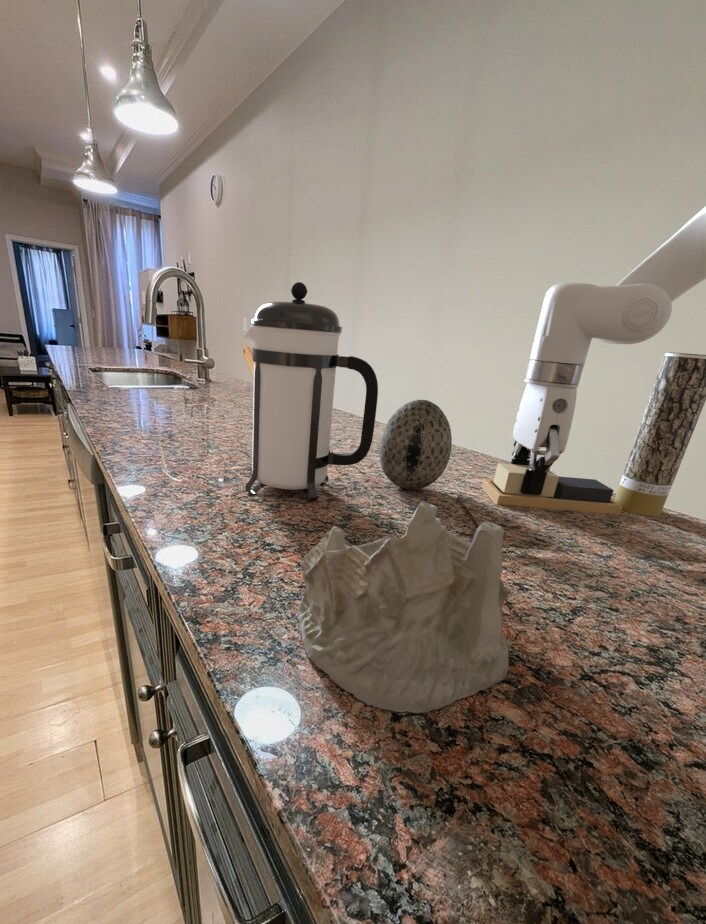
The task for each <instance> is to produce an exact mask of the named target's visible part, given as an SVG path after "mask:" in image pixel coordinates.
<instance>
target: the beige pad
mask: <svg viewBox="0 0 706 924" xmlns="http://www.w3.org/2000/svg"><path fill="white" fill-rule="evenodd" d="M526 469H529V466H527V465H516V464H511V463H504V462H501V463H500V462H498V463H497V465H496V469H495V473H494V477H493V480H494V481H493V482H494V483H495V484H496V485H497V486H498V487H499V488H500V489H501V490H502V491H503V492H504V493H511V494H522V493H521V492H520V490H521V486H522V482H523V479H524V475H525V471H526ZM559 477H560V476H559V475H557V474H556V473H554V472H553V471H551V470H550V471H549V472H547V476H546V479H545V483H544V486H543V490H542V493H541V495H534V496H546V497H553V496H554V493H555V489H556V486H557V482H558V479H559ZM523 495H530V494H523Z"/></svg>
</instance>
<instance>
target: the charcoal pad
mask: <svg viewBox="0 0 706 924" xmlns="http://www.w3.org/2000/svg"><path fill="white" fill-rule="evenodd" d="M614 492H615V491H614V489H613V488H611V487H610V486H608V485H606V484H604V483H602V482H601V481H599V480H597V479H596V478H595V479H594V478H581V477H569V476H559V479H558V482H557V486H556V489H555V493H554V496H553V497H547V498H552V499H564V500H576V501H588V502H600V503H609V502H610V500H611V499H612V497H613V493H614Z"/></svg>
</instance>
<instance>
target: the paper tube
mask: <svg viewBox="0 0 706 924" xmlns="http://www.w3.org/2000/svg"><path fill="white" fill-rule="evenodd" d="M705 403H706V354H697V353H683V352H670V351H668V352H665V354H664V355H663V357H662V359H661V363H660V365H659V369H658V372H657V375H656V377H655V381H654V383H653V386H652V389H651V391H650V395H649V398H648V401H647V404H646V407H645V409H644V412H643V415H642V418H641V421H640V424H639V427H638V429H637V433H636V435H635V438H634V441H633V444H632V446H631V450H630V453H629V456H628V459H627V462H626V464H625V466H624V470H623V473H622V476H621V478H620V481H619V484H618V488H617V490H616V493H615V496H614V499H613V500H614V501H616V502H617V503H619V504H620V505H622V506H623V507H622V509H621V511H624V512H626V513H630V514H634V515H637V516H643V517H654V518H655V517H659V516H661V514H662V511H663V509H664V506H665V504H666V501H667V500H668V497H669V494H670V492H671V489H672V487H673V484H674V482H675V480H676V476H677V474H678V471H679V469H680V466H681V464H682V461H683V459H684V456H685V454H686V451H687V449H688V446H689V444H690V441H691V439H692V436H693V434H694V431H695V430H696V429H695V428H696V426H697V424H698V420H699V419H700V415H701V413H702V411H703V409H704V406H705Z"/></svg>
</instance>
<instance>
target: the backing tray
mask: <svg viewBox="0 0 706 924" xmlns="http://www.w3.org/2000/svg"><path fill="white" fill-rule="evenodd" d="M493 481H494V479H492V478H491V479H488V478H483V479H482V483H481V488H482V490H483V491H484V492H485V493H486V494H487V495H488V496H489V498H491V499H492V501H493V502H494V504H496V505H498V506H510V507H523V508H535V509H545V510H546V509H547V510H556V511H557V510H558V511H569V512H570V511H571V512H582V513H593V514H605V515H619V516H620V515H621V512H622V510H621V509H622V507H623V506H622V505H620V504H619V503H617V502H616V501H614V499H612V498H611V500H610V502H609V503H600V502H588V501H576V500H564V499H552V498H547V497H546V496H534V495H523V494H511V493H504V492H503V491H502V490H501V489H500V488H499V487H498V486H497V485H496V484H495V483H494V482H493Z"/></svg>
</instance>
